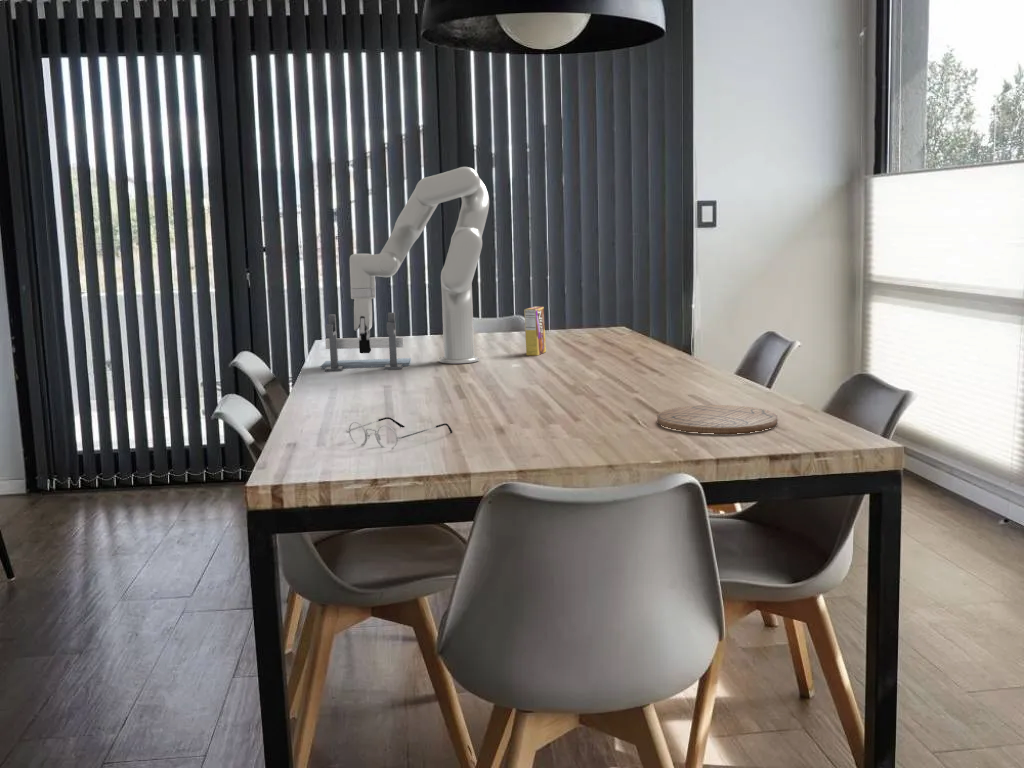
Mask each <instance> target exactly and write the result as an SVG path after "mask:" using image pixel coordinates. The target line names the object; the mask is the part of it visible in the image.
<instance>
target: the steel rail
mask: <svg viewBox="0 0 1024 768" xmlns="http://www.w3.org/2000/svg"><path fill="white" fill-rule="evenodd" d="M359 340H360V339H359V337H346V338H345V337H344V338H343V337H342V338H341V337H340V338H338V337H337V350H339V349H341V350H343V349H344V350H345V349H347V350H348V349H349V350H351V349H359ZM369 340H370V348H371V349H386V348H387V349H388V348H389V336H387V337H386V336H385V337H384V336H383V337H382V336H381V337H380V336H379V337H370V338H369ZM324 343H325V350H330V341H329V338H325V342H324ZM397 348H404V336H396V349H397Z"/></svg>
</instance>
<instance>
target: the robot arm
mask: <svg viewBox="0 0 1024 768" xmlns="http://www.w3.org/2000/svg"><path fill="white" fill-rule="evenodd" d="M459 198H461V207H460V210H459V213H458V214H459V215H458V219H457V222H456V224H455V225H456V226H455V229H454V232H453V233H452V235H451V238H450V244H449V248H448V250H447V251H448V252H447V254H446V258H445V261H444V265H443V268H442V269H441V270H440V271H441V272H440V285H441V287H440V288H441V289H440V290H441V307H442V308H441V309H442V311H441V312H442V313H441V315H442V337H443V356H442V357H439V360H438V361H439V362H440V363H441V364H442V363H443V364H452V365H453V364H454V365H455V364H468V363H469V364H470V363H471V364H472V363H477V362H479V361H480V356H478V355H475V344H474V343H475V340H474V339H475V338H474V313H473V312H474V310H473V309H474V306H473V286H472V285H473V284H472V283H473V279H474V276H475V273H476V269H477V265H478V263H479V260H480V255H481V252H482V248H483V233H484V230H485V226H486V222H487V218H488V215H489V208H490V197H489V192H488V190H487V186H486V185H485V183H484V182H483V180H482V179H481V178H480V176H479V174H478V172H477V171H476V170H475V169H474V168H472V167H471V166H469V167H468V166H460V167H458V168H454V169H451V170H447V171H445V172H441V173H438V174H433V175H431V176H426V177H423V178H421V179H420V180H419V181H417V184H416V185H415V189H414V190H413V191H412V193H411V195H410V197H409V199H408V200H407V202H406V203H405V205H404V207H403V209H402V210H401V212H400V213H399V215H398V217H397V219H396V221H395V224H394V227H393V230H392V231H391V233H390V235H389V237H388V240H387V241H386V242H385V245H384V246H383V248H382V249H381V251H380V252H379V253H375V254H371V253H353V254H351V255H350V256H349V277H350V278H349V279H350V284H349V285H350V299H351V300H354V301H353V330H354V331H356V332H357V331H358V333H359V335H358V336H359V337H358V338H359V339H360V340H359V348H358V349H359V354H371V353H370V352H371V351H372V348H370V340H369V338H371V329H372V327H373V301H372V300H374V299H376V279H375V277H380V278H381V277H382V278H391V277H393V276H395V274H397V272H398V271H399V269H400V268H401V266H402V263H403V262H404V260H405V258H406V256H407V255H408V254H409V251H411V248H412V247H413V245H414V244H415V242H416V241H417V240H418V239H419V238H420V236H421V234H422V233H423V231H424V229H425V227H426V226H427V224H428V222H429V220H430V219H431V217H432V215H433V214H434V212H435V210H437V207H438V205H440V204H441V203H445V202H450V201H452V200H455V199H456V200H457V199H459Z"/></svg>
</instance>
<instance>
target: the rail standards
mask: <svg viewBox="0 0 1024 768" xmlns="http://www.w3.org/2000/svg"><path fill="white" fill-rule="evenodd" d="M327 318H328V319H327V321H328V322H327V323H328V324H325V335H326V337H328V339H329V341H330V349H329V355H330V356H329V357H330V361H331V366H327V367H326V368H325V369H324V372H326V373H327V372H329V373H330V372H333V373H334V372H342V371H343V370H345V368H344V366H338V360H339V355H338V352H339V351H338V350H339V349H337V338H338V333H337V319H336V318H337V317H336V313H335V314H328V315H327ZM396 328H397V327H396V312H388V313H387V322H386V334H387V335H388V337H389V359H390V364H386V365H385V367H384V370H385V371H387V370H392V371H393V370H402V368H403V366H402V364H397V358H398V355H397V353H398V352H397V351H398V350H397V348H396V337H397V333H396V332H397V331H396Z"/></svg>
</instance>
